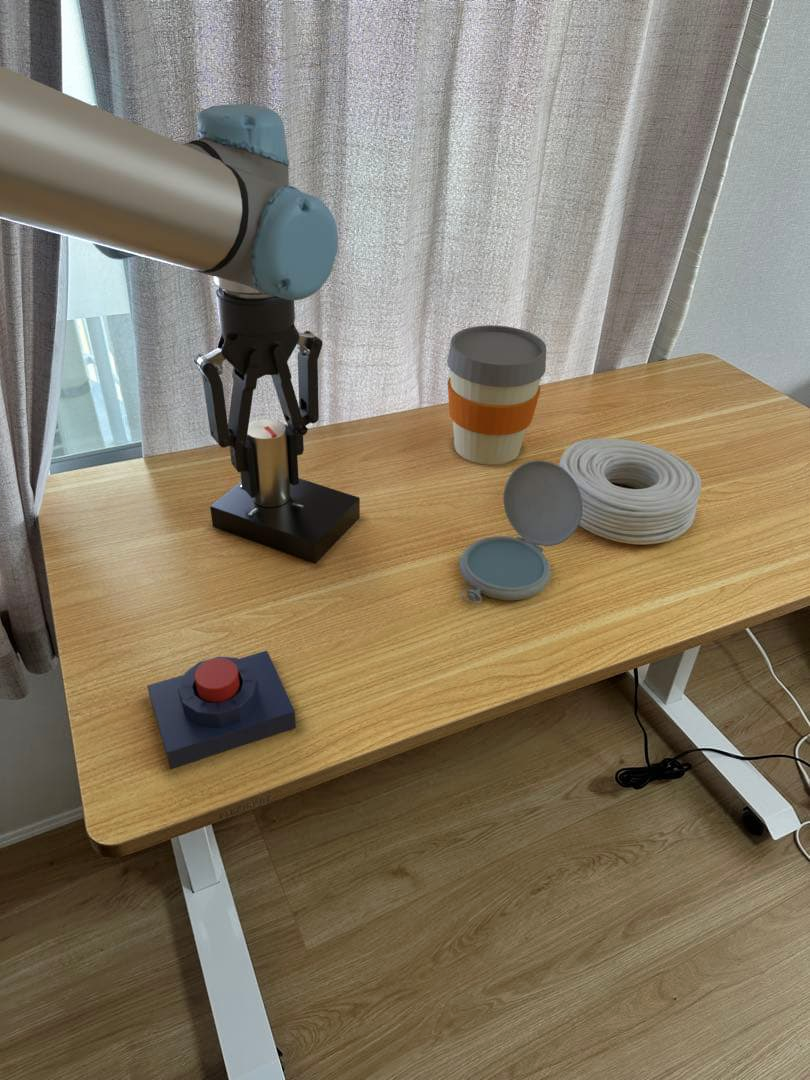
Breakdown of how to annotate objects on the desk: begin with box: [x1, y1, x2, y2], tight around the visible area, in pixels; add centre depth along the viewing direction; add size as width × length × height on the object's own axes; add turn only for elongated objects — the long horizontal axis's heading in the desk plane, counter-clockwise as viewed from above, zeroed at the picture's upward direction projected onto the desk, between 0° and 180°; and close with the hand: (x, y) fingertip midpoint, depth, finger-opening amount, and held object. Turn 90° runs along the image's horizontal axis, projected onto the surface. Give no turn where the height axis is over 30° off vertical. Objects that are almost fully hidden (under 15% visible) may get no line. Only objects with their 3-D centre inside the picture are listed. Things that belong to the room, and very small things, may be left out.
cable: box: [558, 437, 702, 545], centre depth 98 cm, size 18×18×6 cm
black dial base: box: [209, 477, 361, 565], centre depth 94 cm, size 14×10×3 cm
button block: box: [146, 650, 297, 770], centre depth 71 cm, size 11×8×4 cm
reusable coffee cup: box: [446, 324, 547, 466], centre depth 106 cm, size 13×13×15 cm
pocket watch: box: [458, 459, 583, 604], centre depth 86 cm, size 10×11×15 cm
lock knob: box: [247, 418, 290, 507], centre depth 91 cm, size 4×4×9 cm
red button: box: [195, 657, 240, 703], centre depth 69 cm, size 4×4×2 cm
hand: (270, 484), depth 93 cm, fingers closed on lock knob, 4 cm apart
